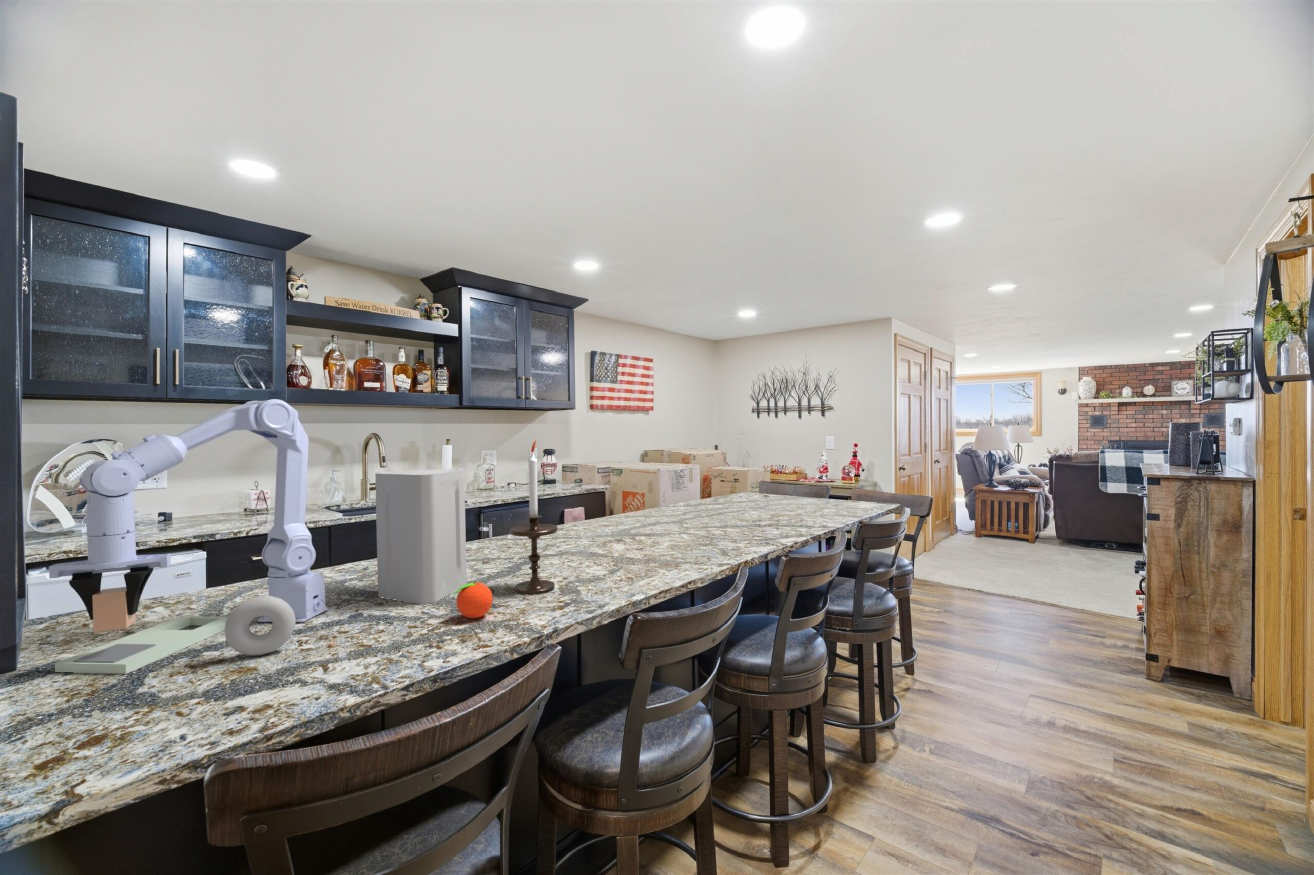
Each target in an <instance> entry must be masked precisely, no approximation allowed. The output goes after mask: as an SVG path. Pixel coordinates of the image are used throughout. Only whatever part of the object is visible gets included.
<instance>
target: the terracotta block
mask: <svg viewBox="0 0 1314 875" xmlns="http://www.w3.org/2000/svg"><path fill="white" fill-rule="evenodd" d="M92 598H93V620H92V623H93V625H92V627H93V634H94V633H102V632H107V631H116V630H118V631H119V630H125V629H128V628H129V627H131V625H133V624H134V623H135V622H136V613H135V614H133V615H128V612H127V589H126V586H121V587H112V588H111V587H110V588H103V589H102V588H101V589H100V591H99V592H97V593H96V594H94V595H92Z"/></svg>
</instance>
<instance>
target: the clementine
mask: <svg viewBox="0 0 1314 875" xmlns="http://www.w3.org/2000/svg"><path fill="white" fill-rule="evenodd" d="M455 595H457V596H456V608H457V610H458V612H459V613H460V614H461V615H462V616H464V617H466V618H468V619H478V618H481V617H483V616H484V615H485V614H487V613H488V612H489V611H490V609H491V607H492V605H493V601H494V600H493V593H492V591H491V589H490V588H489V587H488V585H486V584H484V583H481V582H476V581H473V582H469V583H467V584H466V585H464V586H462V587H460V588H459V589H458V590H457V591H456V592H455V593H453V597H452V599H451V600H452V601H453V600H454V598H455Z"/></svg>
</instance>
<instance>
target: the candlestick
mask: <svg viewBox="0 0 1314 875" xmlns="http://www.w3.org/2000/svg"><path fill="white" fill-rule="evenodd" d="M536 443H537V440H536V439H534V442H533V443H532V446H531V449H530V452H531V454H530V458H528V495H529V496H528V498H529V499H528V501H529V502H528V503H529V506H528V507H529V515H526V516H525V518H526V519H528V521H529V522H528V523H527V524H519V525H515V526H511V527H510V528H509V534H510V535H511V536H514V537H521V538H522V537H527V538H528V539H530V542H531V543H530V546H531V549H530V550H531V552H530V553H531V554H530V555H528V557H527V558H528V560H529V562H530V564H531V565H530V566H529V567H528V569H529V570H531V577H530V578H529V580H526V581H521V582H519V583H516V584H515V586H514V592H515V591H516V592H517V593H516V592H515V593H516V594H519V593H520V594H519V595H524V594H528V596H532V595H533V594H536V595H541V594H542V593H543V594H547V593H550V592H552V591H553V590H555V582H554V581H552V580H547V579H540V577H539V575H538V572H539V571H538V570H539V569H540V568H541V566H540V565H539V561H540V560H541V555H540V554H539V553H538V539H540V538H541V537H543V536H550V535H553V534H556V533H557V532H558V529H559V528H558V525H556V524H551V523H539V518H542V517H543V516H542V514H541V515H540V514H539V513H538V512H539V511H538V509H539V508H538V507H539V506H538V502H539V501H538V459H537V458H536V457H535V453H534V452H535V449H536ZM529 594H530V595H529ZM543 594H542V595H543ZM533 596H534V595H533Z"/></svg>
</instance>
